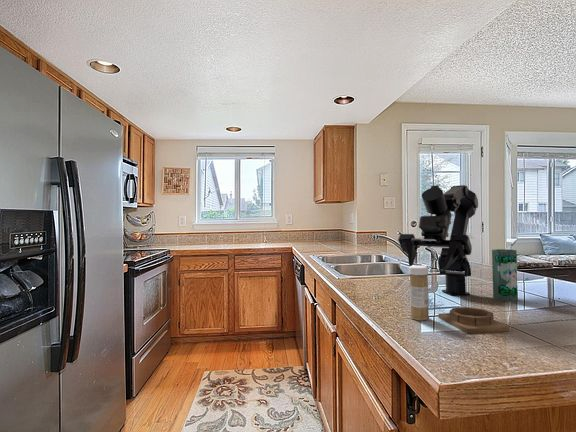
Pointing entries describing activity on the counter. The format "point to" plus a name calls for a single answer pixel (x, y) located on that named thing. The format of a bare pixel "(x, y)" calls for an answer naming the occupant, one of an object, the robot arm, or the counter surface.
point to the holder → (473, 320)
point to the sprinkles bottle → (419, 292)
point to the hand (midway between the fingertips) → (426, 267)
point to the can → (505, 275)
